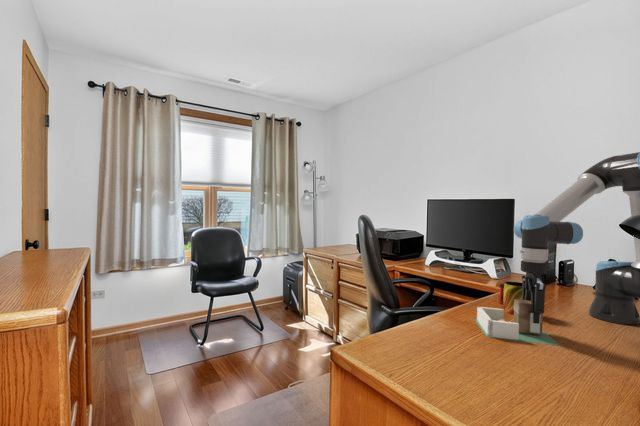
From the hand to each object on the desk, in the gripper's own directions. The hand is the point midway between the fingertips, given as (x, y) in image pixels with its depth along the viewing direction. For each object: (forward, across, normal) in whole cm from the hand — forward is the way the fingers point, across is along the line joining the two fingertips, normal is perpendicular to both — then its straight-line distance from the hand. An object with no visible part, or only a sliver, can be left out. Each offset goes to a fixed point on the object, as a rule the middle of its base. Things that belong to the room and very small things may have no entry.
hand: (531, 329), depth 107 cm
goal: (+1, 0, -10) cm, 10 cm away
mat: (+2, 0, -6) cm, 6 cm away
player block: (+1, 0, -1) cm, 1 cm away
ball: (0, 0, -9) cm, 9 cm away
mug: (+2, -26, +2) cm, 26 cm away
